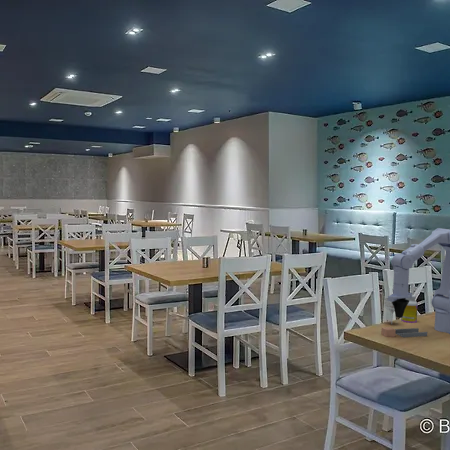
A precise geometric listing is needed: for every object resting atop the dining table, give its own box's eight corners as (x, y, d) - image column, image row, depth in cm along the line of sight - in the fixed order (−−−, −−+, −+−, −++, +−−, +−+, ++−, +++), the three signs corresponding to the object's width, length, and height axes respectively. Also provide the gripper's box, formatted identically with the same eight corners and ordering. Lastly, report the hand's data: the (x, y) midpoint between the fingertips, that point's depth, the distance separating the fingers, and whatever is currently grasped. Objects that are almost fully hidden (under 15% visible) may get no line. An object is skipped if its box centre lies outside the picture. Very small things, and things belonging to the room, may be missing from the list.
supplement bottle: (417, 325, 224) (419, 297, 223) (402, 324, 225) (403, 296, 225) (415, 322, 231) (416, 294, 230) (400, 321, 232) (401, 293, 231)
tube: (417, 334, 210) (417, 328, 210) (427, 338, 204) (427, 332, 204) (393, 335, 207) (394, 329, 207) (402, 340, 201) (403, 333, 201)
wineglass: (381, 324, 225) (383, 297, 225) (397, 325, 225) (398, 298, 224) (385, 328, 219) (386, 301, 218) (401, 329, 218) (402, 301, 217)
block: (390, 327, 206) (381, 327, 205) (395, 330, 202) (386, 330, 201) (390, 336, 206) (381, 337, 205) (395, 339, 202) (385, 340, 201)
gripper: (399, 287, 195) (398, 321, 196) (419, 283, 204) (417, 316, 205) (383, 284, 201) (382, 318, 202) (403, 281, 210) (402, 313, 211)
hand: (399, 317), depth 204 cm, fingers closed
